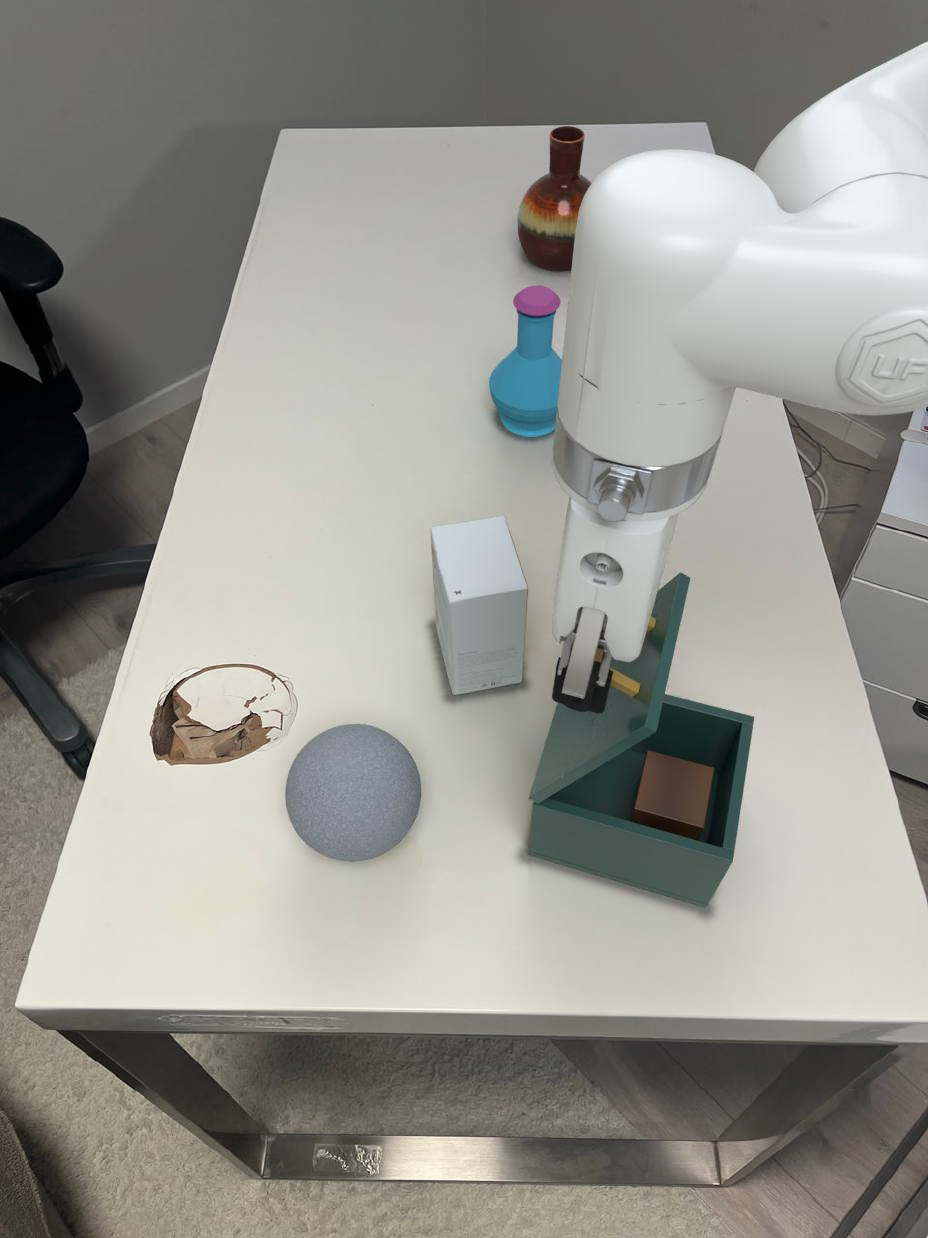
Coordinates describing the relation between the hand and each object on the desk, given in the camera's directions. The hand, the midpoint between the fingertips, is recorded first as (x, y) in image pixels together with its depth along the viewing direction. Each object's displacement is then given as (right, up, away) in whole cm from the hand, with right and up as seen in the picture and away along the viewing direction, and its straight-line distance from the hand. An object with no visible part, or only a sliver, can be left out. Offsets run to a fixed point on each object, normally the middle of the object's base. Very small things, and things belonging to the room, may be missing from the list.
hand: (591, 658), depth 56 cm
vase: (+4, +50, +62) cm, 80 cm away
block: (+7, -13, +13) cm, 20 cm away
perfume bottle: (-1, +25, +43) cm, 50 cm away
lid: (+2, -3, +3) cm, 4 cm away
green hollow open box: (+5, -13, +14) cm, 20 cm away
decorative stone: (-16, -14, +14) cm, 25 cm away
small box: (-7, -1, +24) cm, 25 cm away
